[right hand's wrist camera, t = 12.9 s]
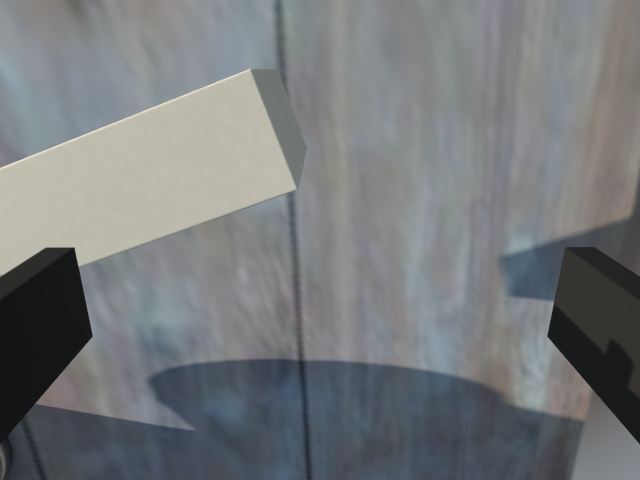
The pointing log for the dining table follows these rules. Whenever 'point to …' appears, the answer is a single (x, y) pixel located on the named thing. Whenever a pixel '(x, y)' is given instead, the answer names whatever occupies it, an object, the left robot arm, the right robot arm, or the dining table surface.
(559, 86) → the dining table surface
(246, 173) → the bar
